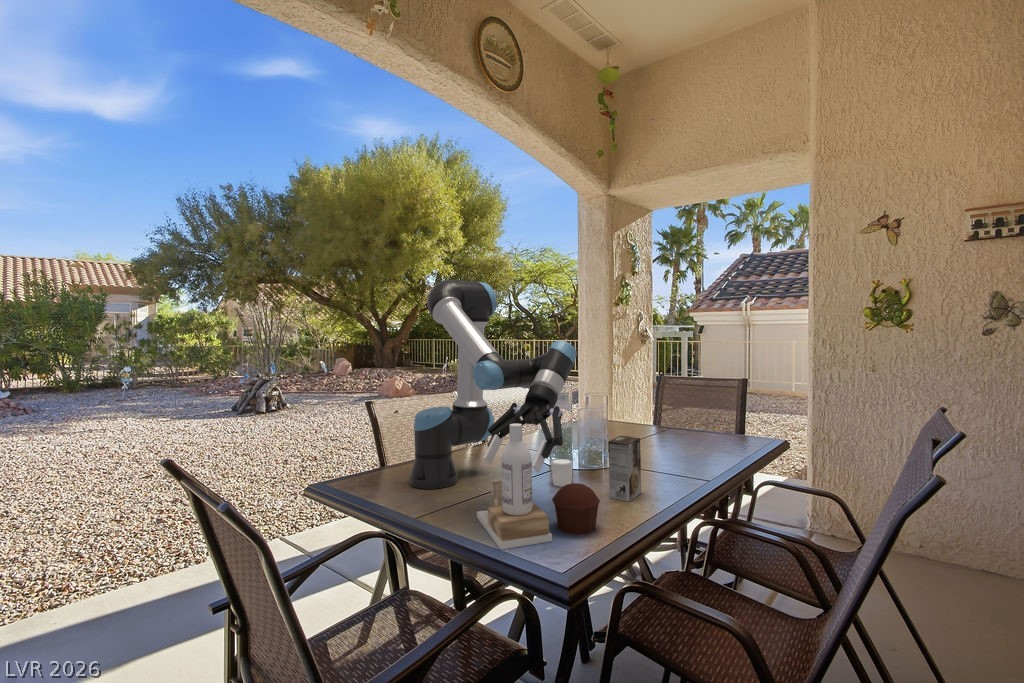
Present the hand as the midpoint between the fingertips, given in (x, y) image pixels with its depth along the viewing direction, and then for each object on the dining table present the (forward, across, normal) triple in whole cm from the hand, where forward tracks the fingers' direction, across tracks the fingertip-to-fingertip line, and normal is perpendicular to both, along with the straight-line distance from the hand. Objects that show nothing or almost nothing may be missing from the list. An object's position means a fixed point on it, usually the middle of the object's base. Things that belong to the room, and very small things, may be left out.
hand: (510, 465), depth 109 cm
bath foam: (+6, 0, -10) cm, 12 cm away
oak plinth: (+9, 0, -12) cm, 15 cm away
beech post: (+5, +8, -16) cm, 19 cm away
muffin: (+2, -9, -22) cm, 24 cm away
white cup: (-18, +11, -42) cm, 47 cm away
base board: (+8, +3, -15) cm, 18 cm away
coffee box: (-18, -10, -42) cm, 46 cm away
